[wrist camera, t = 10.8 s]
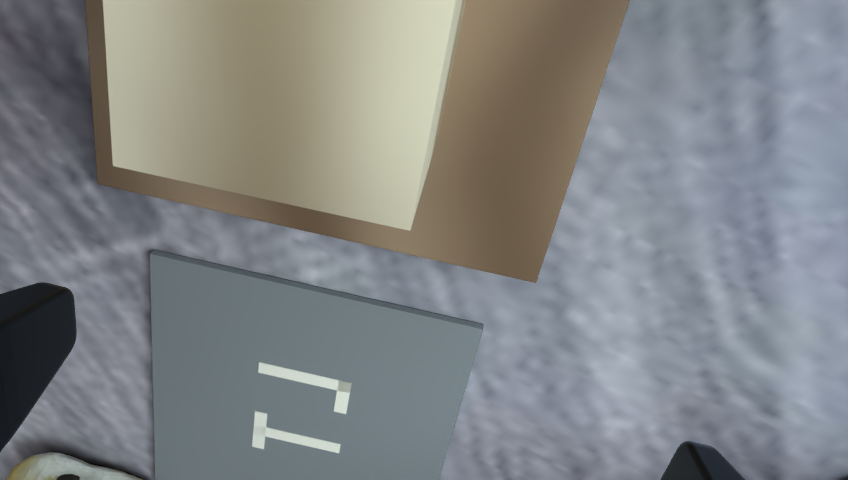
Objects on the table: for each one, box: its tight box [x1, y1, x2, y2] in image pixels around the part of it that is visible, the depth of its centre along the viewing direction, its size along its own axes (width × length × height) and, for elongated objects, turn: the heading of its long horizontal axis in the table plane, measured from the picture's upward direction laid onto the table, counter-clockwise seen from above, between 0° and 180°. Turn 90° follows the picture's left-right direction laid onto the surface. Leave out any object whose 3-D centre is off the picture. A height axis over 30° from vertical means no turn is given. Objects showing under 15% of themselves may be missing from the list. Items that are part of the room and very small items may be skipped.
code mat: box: [150, 250, 483, 480], centre depth 25 cm, size 12×12×1 cm
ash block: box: [103, 0, 466, 231], centre depth 13 cm, size 6×6×6 cm
